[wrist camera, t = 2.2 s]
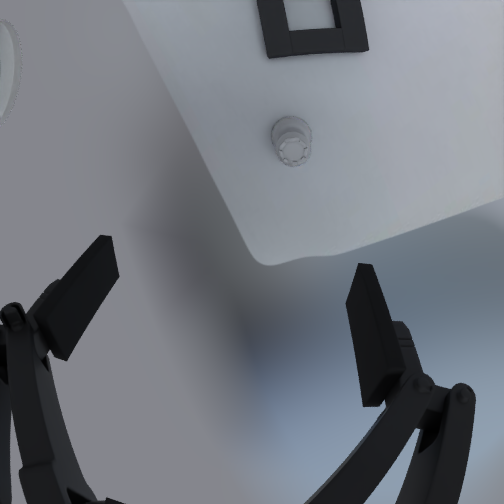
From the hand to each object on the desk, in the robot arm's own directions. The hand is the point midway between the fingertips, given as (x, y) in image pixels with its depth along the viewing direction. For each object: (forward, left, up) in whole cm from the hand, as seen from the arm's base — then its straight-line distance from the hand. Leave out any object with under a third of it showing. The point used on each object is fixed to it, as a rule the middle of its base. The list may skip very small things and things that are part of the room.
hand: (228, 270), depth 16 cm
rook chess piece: (+4, +2, -22) cm, 23 cm away
